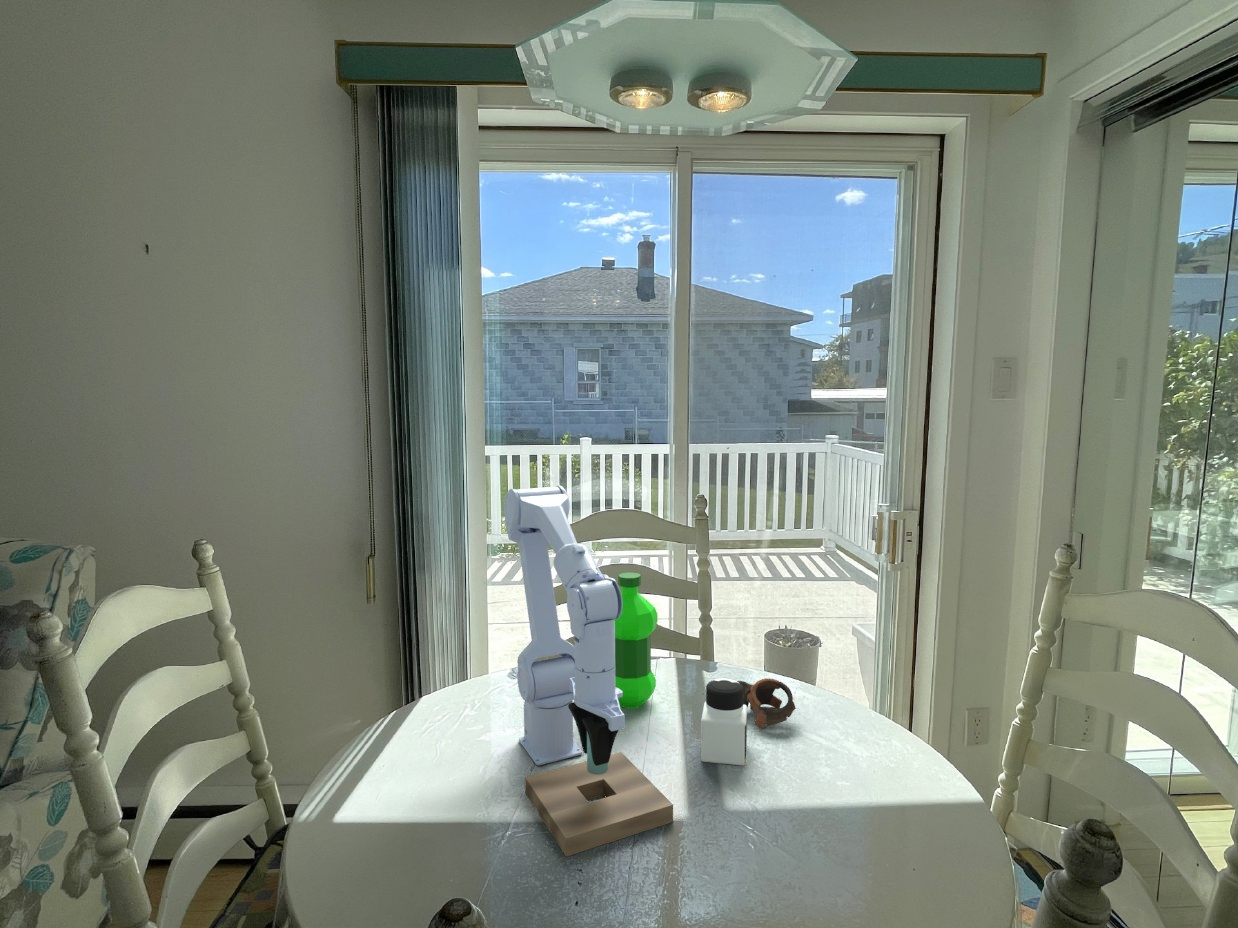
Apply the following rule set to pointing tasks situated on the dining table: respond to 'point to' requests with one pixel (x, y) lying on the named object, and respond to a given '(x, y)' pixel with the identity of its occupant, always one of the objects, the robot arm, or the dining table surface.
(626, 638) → the plastic bottle
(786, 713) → the brown jagged ring
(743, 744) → the medicine bottle
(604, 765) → the peg
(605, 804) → the socket board
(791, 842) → the dining table surface
